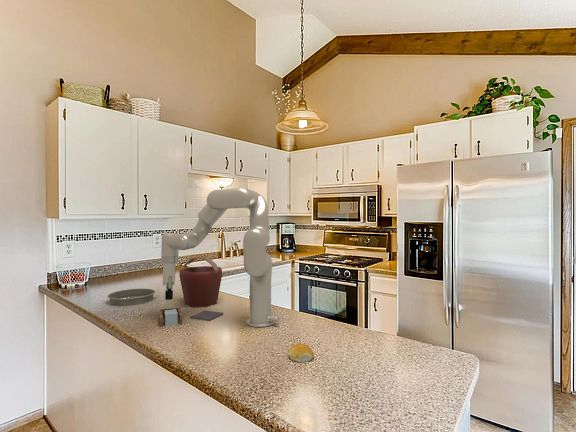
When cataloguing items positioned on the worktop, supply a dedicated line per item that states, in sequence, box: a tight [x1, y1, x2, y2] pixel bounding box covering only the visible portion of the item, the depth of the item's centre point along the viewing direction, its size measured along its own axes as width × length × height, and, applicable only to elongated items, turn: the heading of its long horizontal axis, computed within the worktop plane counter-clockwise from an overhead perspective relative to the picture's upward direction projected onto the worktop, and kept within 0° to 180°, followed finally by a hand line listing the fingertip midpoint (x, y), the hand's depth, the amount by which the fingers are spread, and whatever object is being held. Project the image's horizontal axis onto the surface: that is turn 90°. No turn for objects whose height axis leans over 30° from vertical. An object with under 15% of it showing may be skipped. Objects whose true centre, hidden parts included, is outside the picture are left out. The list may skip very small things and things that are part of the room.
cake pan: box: [106, 288, 156, 307], centre depth 185 cm, size 25×25×4 cm
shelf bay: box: [159, 307, 183, 328], centre depth 149 cm, size 15×9×4 cm, turn 22°
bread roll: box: [287, 343, 315, 363], centre depth 111 cm, size 8×9×4 cm
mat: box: [189, 309, 224, 322], centre depth 156 cm, size 11×11×1 cm
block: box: [164, 309, 179, 327], centre depth 146 cm, size 7×5×5 cm
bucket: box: [178, 256, 223, 308], centre depth 180 cm, size 24×22×25 cm
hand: (168, 299), depth 153 cm, fingers closed
